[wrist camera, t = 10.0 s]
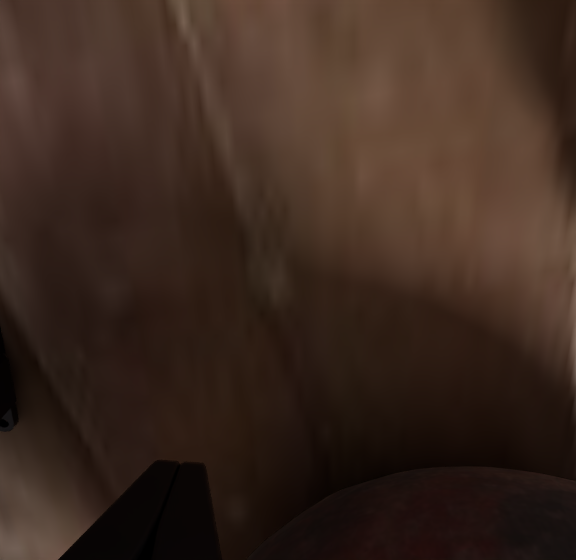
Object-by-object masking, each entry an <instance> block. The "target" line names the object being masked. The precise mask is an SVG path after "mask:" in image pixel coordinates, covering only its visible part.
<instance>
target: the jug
mask: <svg viewBox="0 0 576 560" xmlns="http://www.w3.org/2000/svg"><path fill="white" fill-rule="evenodd" d="M246 560H576V481H573V480H569V479H564V478H560V477H555V476H551V475H546V474H541V473H534V472H528V471H521V470H512V469H504V468H495V467H478V466H457V467H434V468H424V469H414V470H409V471H405V472H400V473H395V474H391V475H387V476H384V477H380V478H377V479H373V480H370V481H367V482H364V483H360V484H357V485H354V486H351V487H347V488H344V489H342V490H340V491H338V492H335V493H333V494H331V495H329V496H327V497H326V498H324V499H323V500H321V501H319V502H318V503H316V504H315V505H313V506H312V507H310V508H308V509H307V510H305V511H304V512H302V513H301V514H299V515H298V516H297V517H295V518H294V519H293V520H291V521H290V522H289V523H287V524H286V525H285V526H283V527H282V528H281V529H279V530H278V531H277V532H275V533H274V534H273V535H272V536H270V537H269V538H268V539H266V540H265V541H264V542H263V543H262V544H261V545H260V546H259V547H258V548H257V549H256V550H255V551H254V552H252V554H251V555H250V556H249V557H248V558H247V559H246Z"/></svg>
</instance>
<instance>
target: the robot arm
mask: <svg viewBox="0 0 576 560" xmlns="http://www.w3.org/2000/svg"><path fill="white" fill-rule="evenodd" d="M15 402H16V397H15V392H14V387H13V382H12V377H11V372H10V367H9V362H8V358H7V356H6V353H5V348H4V343H3V338H2V333H1V328H0V431H4V432H6V431H10V430H12V429H13V428H14V427H15V425H16V424H17V423H18V419H19V418H18V413H17V408H16V403H15ZM5 420H6V421H5ZM58 560H222V557H221V551H220V545H219V539H218V534H217V528H216V522H215V517H214V511H213V505H212V500H211V494H210V488H209V482H208V477H207V471H206V466H205V464H203V463H196V462H183V463H182V464H181V465H180V463H179V462H178V461H170V460H157V461H155V462H154V463H153V464H152V465H151V466H150V467H149V468H148V469H147V470H146V471H145V472H144V473H143V474H142V475H141V476H140V477H139V478H138V479H137V480H136V481H135V482H134V483H133V484H132V485H131V486H130V487H129V488H128V489H127V490H126V491H125V492H124V493H123V494H122V495H121V496H120V497H119V498H118V499H117V500H116V501H115V502H114V503H113V504H112V505H111V506H110V507H109V508H108V509H107V510H106V511H105V512H104V513H103V514H102V516H101V517H100V518H99V519H98V520H97V521H96V522H95V523H94V524H93V525H92V526H91V527H90V528H89V529H88V530H87V531H86V532H85V533H84V534H83V535H82V536H81V537H80V538H79V539H78V540H77V541H76V542H75V543H74V544H73V545H72V546H71V547H70V548H69V549H68V550H67V551H66V552H65V553H64V554H63V555H62V556H61V557H60V558H59V559H58Z"/></svg>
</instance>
